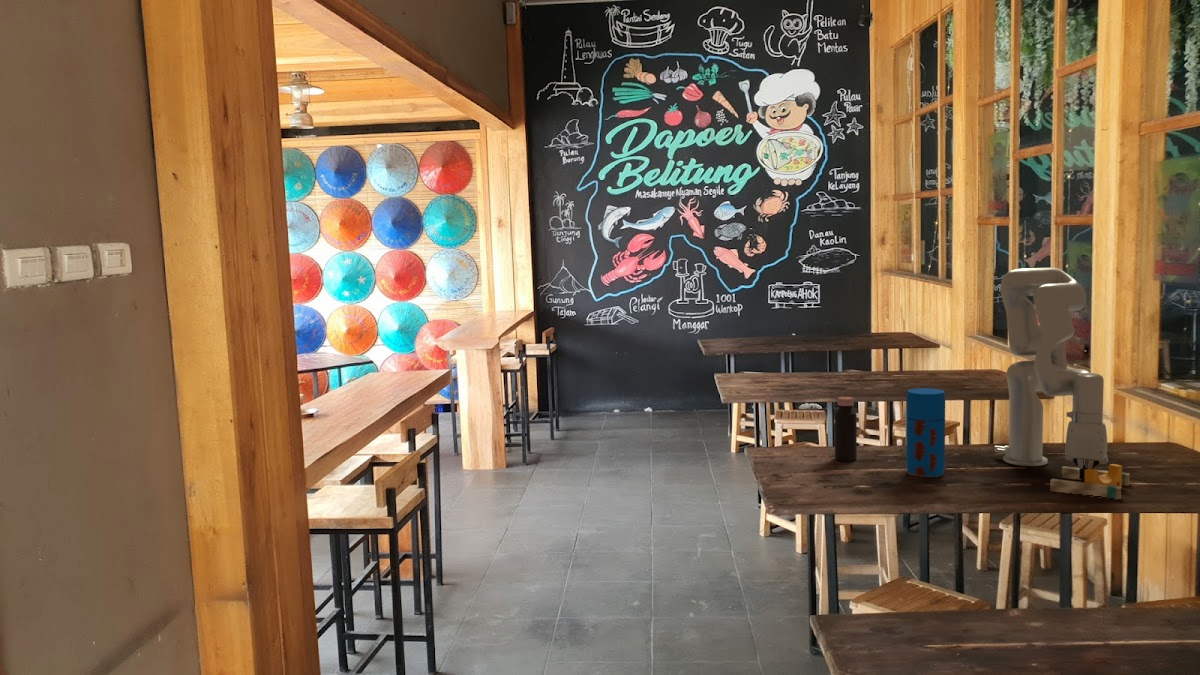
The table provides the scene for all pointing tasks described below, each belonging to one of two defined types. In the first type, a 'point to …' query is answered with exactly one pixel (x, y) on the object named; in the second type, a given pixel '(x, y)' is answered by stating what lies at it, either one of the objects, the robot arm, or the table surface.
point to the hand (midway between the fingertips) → (1085, 482)
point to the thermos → (926, 431)
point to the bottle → (845, 430)
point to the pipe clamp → (1105, 476)
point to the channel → (1086, 484)
